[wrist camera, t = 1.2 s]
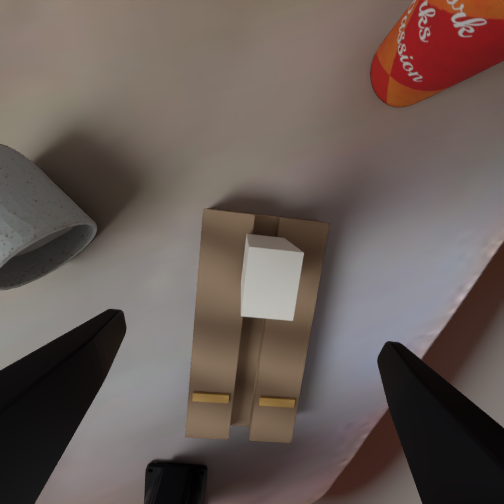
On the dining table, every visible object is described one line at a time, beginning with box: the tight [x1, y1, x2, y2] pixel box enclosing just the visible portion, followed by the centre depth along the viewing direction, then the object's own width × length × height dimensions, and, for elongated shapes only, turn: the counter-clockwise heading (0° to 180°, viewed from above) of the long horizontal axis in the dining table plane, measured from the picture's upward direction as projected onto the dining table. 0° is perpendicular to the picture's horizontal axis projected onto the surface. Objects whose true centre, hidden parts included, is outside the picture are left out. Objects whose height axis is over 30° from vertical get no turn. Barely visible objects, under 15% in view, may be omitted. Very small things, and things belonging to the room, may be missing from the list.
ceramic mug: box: [0, 144, 97, 291], centre depth 17 cm, size 11×8×8 cm
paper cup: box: [370, 0, 504, 107], centre depth 13 cm, size 8×8×14 cm
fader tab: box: [241, 234, 304, 321], centre depth 17 cm, size 4×3×8 cm
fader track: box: [185, 208, 330, 443], centre depth 22 cm, size 21×10×3 cm, turn 173°
